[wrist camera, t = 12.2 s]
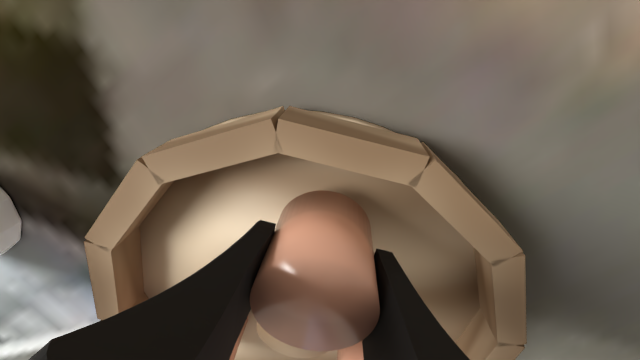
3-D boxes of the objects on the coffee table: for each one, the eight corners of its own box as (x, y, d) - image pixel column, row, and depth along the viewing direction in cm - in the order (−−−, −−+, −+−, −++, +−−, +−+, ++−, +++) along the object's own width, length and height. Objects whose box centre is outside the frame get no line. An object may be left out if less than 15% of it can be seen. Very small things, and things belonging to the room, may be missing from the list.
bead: (380, 259, 13) (391, 344, 9) (295, 273, 14) (276, 357, 10) (358, 180, 11) (362, 246, 8) (264, 202, 12) (228, 270, 9)
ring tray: (504, 379, 19) (528, 432, 16) (223, 401, 23) (207, 445, 20) (481, 43, 11) (521, 45, 8) (53, 172, 15) (-8, 200, 12)
